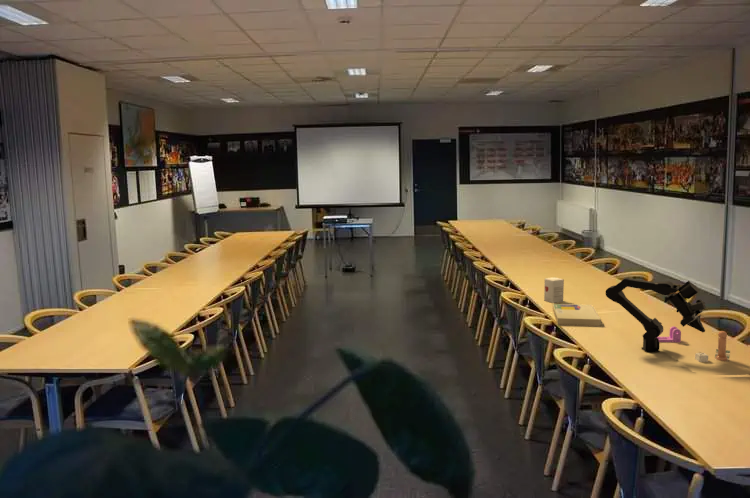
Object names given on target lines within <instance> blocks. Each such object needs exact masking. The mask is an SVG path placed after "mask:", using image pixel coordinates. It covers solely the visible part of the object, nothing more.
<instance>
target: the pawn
mask: <svg viewBox="0 0 750 498" xmlns="http://www.w3.org/2000/svg"><path fill="white" fill-rule="evenodd" d="M717 336H718V338H717V339H718V340H717V343H718V344H717V349H718V355H717V356H716V359H717V360H716V361H721V360H722V362H723V361H724V362H726V361H725V360H727V356H726V350H727V337H728V333H727V332H726V330H725V331H724V330H720V331H719V332H718V333H717Z"/></svg>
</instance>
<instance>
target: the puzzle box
mask: <svg viewBox="0 0 750 498" xmlns="http://www.w3.org/2000/svg"><path fill="white" fill-rule="evenodd" d="M552 312H553V313H552V314H553V316H554V318H555V322H556V324H557V325H558V326H581V327H582V326H583V327H601V326H602V323H603V322H602V319H601V317H600V314H599V313H598V312H597V310H596V308H595V306H593V304H582V303H580V304H577V303H575V304H572V303H560V304H559V303H552Z"/></svg>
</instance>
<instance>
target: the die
mask: <svg viewBox="0 0 750 498" xmlns="http://www.w3.org/2000/svg"><path fill="white" fill-rule="evenodd" d="M694 360H696V361H697V362H700V363H703V362H705V363H706V362H707V363H708V362H709V355H708V354H707V353H705V352H695V354H694Z"/></svg>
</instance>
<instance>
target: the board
mask: <svg viewBox="0 0 750 498" xmlns="http://www.w3.org/2000/svg"><path fill="white" fill-rule="evenodd" d="M717 355H718V348H716V349H715V355H714V361H718V360H717V359H716V356H717ZM730 355H731V350H727V349H726V356H727V360H725V361H724V362H729V361H730ZM720 361H722V360H720ZM722 362H723V361H722Z"/></svg>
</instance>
